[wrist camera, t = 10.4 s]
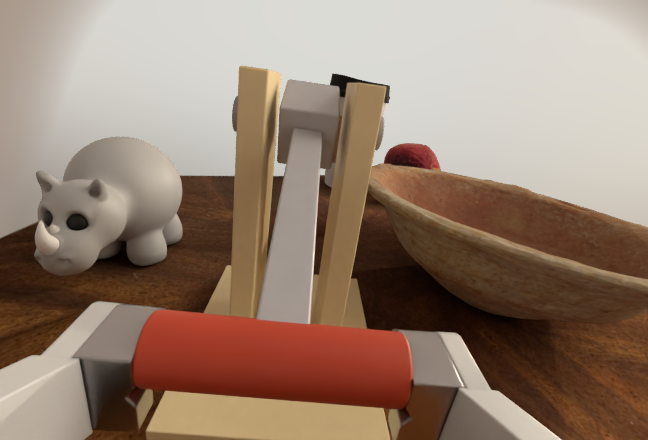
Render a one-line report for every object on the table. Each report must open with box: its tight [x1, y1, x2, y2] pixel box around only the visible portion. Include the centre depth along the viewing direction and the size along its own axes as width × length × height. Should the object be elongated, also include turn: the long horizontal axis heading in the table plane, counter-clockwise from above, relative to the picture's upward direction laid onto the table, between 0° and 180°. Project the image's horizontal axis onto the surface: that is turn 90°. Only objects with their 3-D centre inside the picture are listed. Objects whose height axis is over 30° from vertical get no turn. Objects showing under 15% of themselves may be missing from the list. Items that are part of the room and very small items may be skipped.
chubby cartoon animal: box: [34, 137, 182, 276], centre depth 22 cm, size 7×12×8 cm, turn 0°
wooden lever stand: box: [146, 66, 390, 440], centre depth 16 cm, size 12×9×14 cm
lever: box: [133, 80, 413, 410], centre depth 11 cm, size 12×5×2 cm, turn 1°
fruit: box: [384, 143, 441, 171], centre depth 46 cm, size 8×8×8 cm
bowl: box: [367, 164, 648, 323], centre depth 27 cm, size 24×24×8 cm
